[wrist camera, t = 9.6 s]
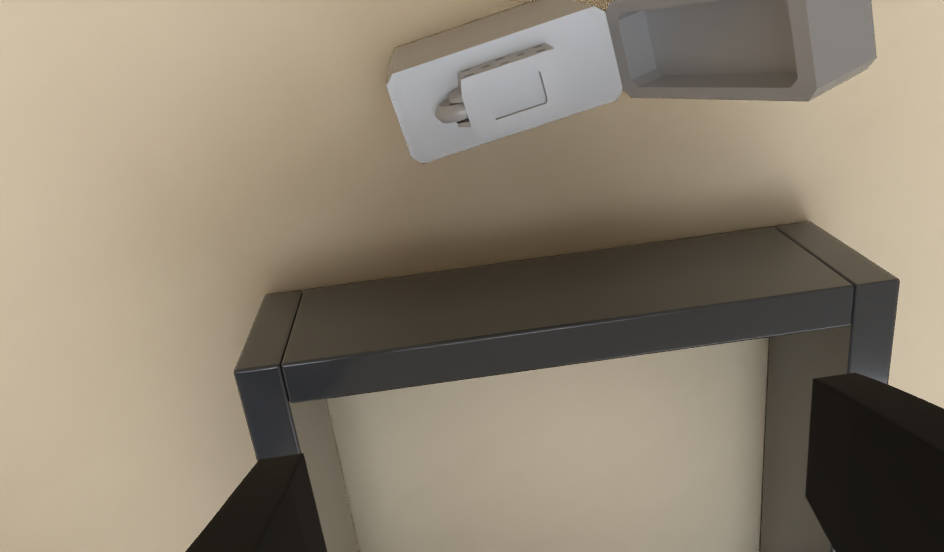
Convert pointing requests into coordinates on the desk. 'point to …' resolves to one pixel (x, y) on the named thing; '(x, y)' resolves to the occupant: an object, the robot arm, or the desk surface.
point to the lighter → (617, 62)
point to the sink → (576, 342)
